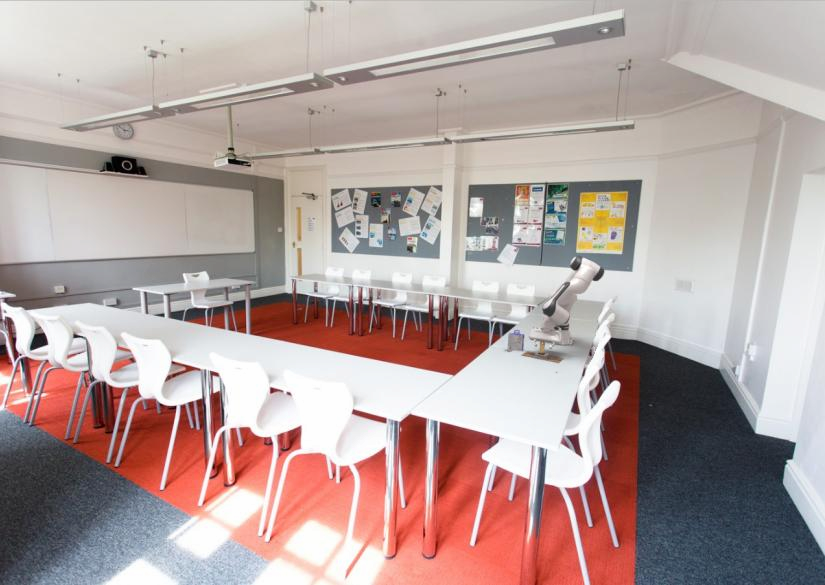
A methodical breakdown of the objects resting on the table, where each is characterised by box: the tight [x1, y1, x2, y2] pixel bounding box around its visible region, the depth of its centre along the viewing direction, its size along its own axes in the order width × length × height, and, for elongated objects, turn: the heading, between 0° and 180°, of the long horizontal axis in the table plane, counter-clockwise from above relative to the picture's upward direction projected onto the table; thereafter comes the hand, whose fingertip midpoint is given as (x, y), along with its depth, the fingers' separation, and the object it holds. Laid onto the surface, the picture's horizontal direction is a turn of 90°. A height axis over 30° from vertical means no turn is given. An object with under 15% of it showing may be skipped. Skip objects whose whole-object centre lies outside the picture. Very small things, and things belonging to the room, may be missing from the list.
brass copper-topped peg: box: [538, 341, 546, 355], centre depth 254 cm, size 3×3×10 cm
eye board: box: [520, 350, 565, 364], centre depth 257 cm, size 12×24×4 cm, turn 54°
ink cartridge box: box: [506, 329, 525, 352], centre depth 271 cm, size 10×6×14 cm, turn 63°
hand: (543, 347), depth 254 cm, fingers open, 8 cm apart
